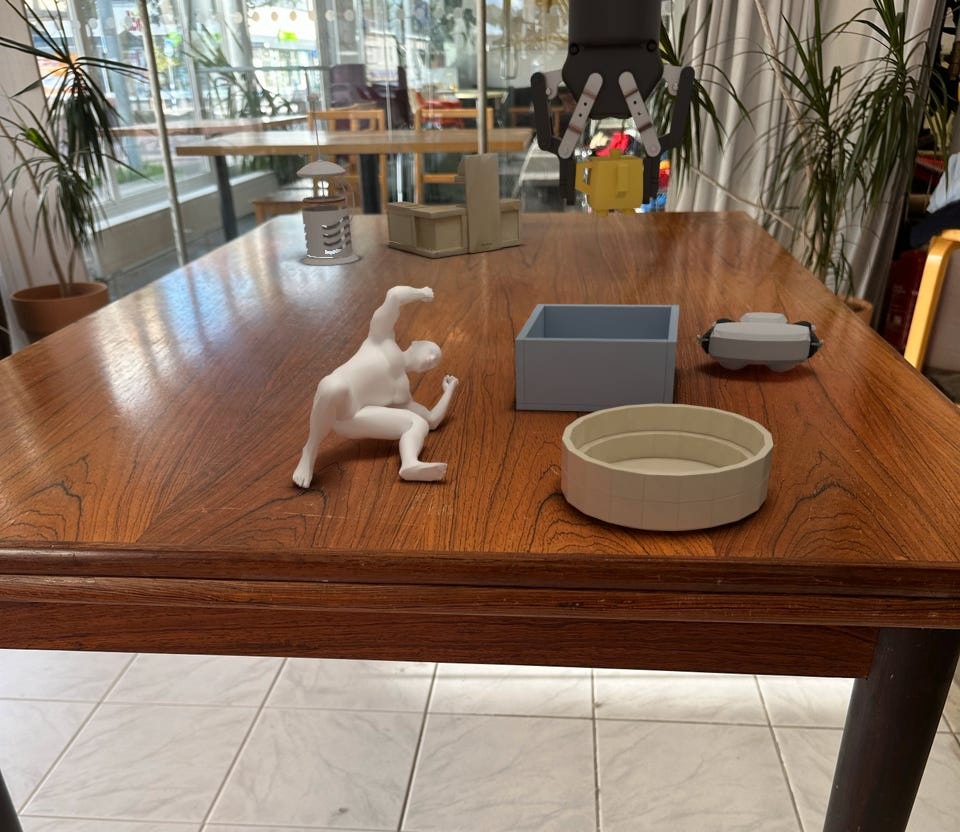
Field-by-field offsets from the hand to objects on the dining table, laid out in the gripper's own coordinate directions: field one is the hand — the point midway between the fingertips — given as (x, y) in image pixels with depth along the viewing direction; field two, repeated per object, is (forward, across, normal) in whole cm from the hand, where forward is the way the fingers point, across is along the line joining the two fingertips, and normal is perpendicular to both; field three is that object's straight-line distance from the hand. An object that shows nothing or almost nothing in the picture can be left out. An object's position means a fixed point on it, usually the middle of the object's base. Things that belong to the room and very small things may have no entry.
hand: (608, 203), depth 84 cm
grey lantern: (+18, +52, -73) cm, 91 cm away
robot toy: (+17, -16, -13) cm, 27 cm away
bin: (+17, 0, -2) cm, 17 cm away
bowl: (+17, -6, +24) cm, 31 cm away
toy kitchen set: (+18, +33, -85) cm, 93 cm away
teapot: (+1, 0, 0) cm, 1 cm away
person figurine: (+17, +18, +17) cm, 30 cm away
